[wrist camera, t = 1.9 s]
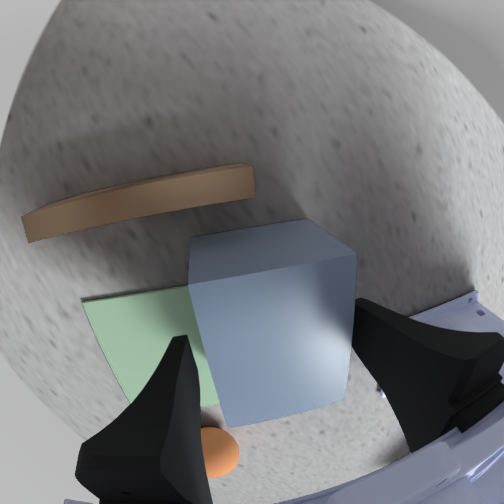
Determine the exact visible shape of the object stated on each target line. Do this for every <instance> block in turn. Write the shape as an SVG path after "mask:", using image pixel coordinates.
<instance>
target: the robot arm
mask: <svg viewBox="0 0 504 504" xmlns="http://www.w3.org/2000/svg"><path fill="white" fill-rule="evenodd" d="M479 296H480V293H479V292H478V291H477V290H475V291H473V292H471V293H469V294H466V295H464V296H462V297H459V298H457V299H455V300H452V301H450V302H447V303H445V304H442V305H440V306H437V307H435V308H432V309H430V310H427V311H424V312H422V313H419V314H416V315H413V316H411V317H406V316H403V315H401V314H399V313H396V312H394V311H392V310H389V309H387V308H385V307H383V306H380V305H378V304H376V303H374V302H371V301H369V300H366V299H364V298H358V299H355V310H354V323H353V334H352V347H353V349H354V351H355V352H356V354H357V356H358V357H359V358H360V360H361V361H362V363H363V364H364V365H365V367H366V368H367V369H368V371H369V372H370V373H371V375H372V376H373V378H374V379H375V380H376V382H377V383H378V384H379V386H380V387H381V392H380V395H381V397H382V398H385V397H387V399H388V401H389V403H390V405H391V407H392V409H393V411H394V413H395V415H396V417H397V419H398V421H399V423H400V426H401V428H402V431H403V433H404V435H405V438H406V440H407V443H408V446H409V449H410V452H411V454H410V455H408V456H406V457H404V458H402V459H400V460H398V461H396V462H394V463H392V464H390V465H387V466H385V467H383V468H381V469H379V470H376V471H374V472H372V473H369V474H367V475H365V476H362V477H360V478H357V479H355V480H352V481H349V482H347V483H344V484H341V485H338V486H335V487H332V488H329V489H326V490H323V491H320V492H317V493H314V494H310V495H307V496H303V497H299V498H296V499H292V500H288V501H283V502H279V503H275V504H504V321H503V320H502V319H501V318H499V317H498V316H497V315H495V314H494V313H493V312H491V311H490V310H488V309H487V308H486V307H484V306H483V305H482V304H480V303H479V302H478V300H479ZM75 476H76V479H77V480H78V481H79V482H80V483H81V484H82V485H83V486H84V487H85V488H86V489H88V490H89V491H90V492H91V493H93V494H94V495H95V496H96V497H98V498H99V499H100V501H99V504H213V502H212V498H211V493H210V489H209V484H208V479H207V473H206V468H205V462H204V456H203V449H202V442H201V417H200V382H199V374H198V368H197V365H196V362H195V359H194V356H193V352H192V349H191V346H190V342H189V339H188V335H181V336H174V337H173V338H172V339H171V341H170V343H169V345H168V347H167V349H166V351H165V353H164V355H163V357H162V359H161V361H160V362H159V364H158V366H157V368H156V369H155V371H154V373H153V374H152V376H151V377H150V379H149V380H148V382H147V384H146V385H145V386H144V388H143V389H142V391H141V392H140V393H139V394H138V396H137V397H136V398H135V399H134V401H133V402H132V403H131V404H130V405H129V406H128V407H127V408H126V409H125V410H124V411H123V412H122V413H121V414H120V415H119V416H118V417H117V418H116V419H115V420H114V421H113V422H111V423H110V424H109V425H108V426H106V427H105V428H104V429H103V430H101V431H100V432H99V433H97V434H96V435H94V436H93V437H91V438H90V439H88V440H87V441H85V442H84V443H82V445H81V448H80V451H79V455H78V461H77V466H76V471H75ZM64 504H92V503H87V502H81V501H75V500H70V499H65V500H64Z"/></svg>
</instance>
